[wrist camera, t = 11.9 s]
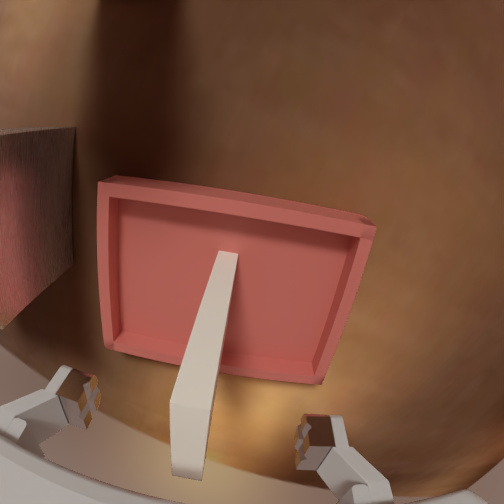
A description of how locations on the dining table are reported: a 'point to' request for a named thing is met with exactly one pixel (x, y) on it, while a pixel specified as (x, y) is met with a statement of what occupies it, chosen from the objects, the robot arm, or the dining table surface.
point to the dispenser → (34, 213)
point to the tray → (246, 276)
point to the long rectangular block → (201, 373)
